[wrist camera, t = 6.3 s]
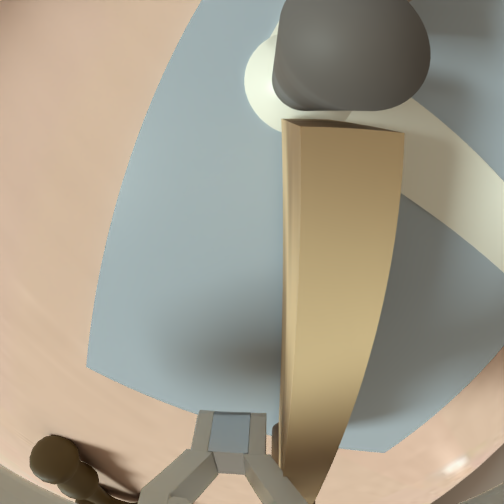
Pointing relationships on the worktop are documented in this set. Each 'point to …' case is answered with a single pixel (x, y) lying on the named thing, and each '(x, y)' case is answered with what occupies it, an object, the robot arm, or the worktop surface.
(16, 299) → the worktop surface
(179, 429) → the worktop surface
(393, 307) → the card
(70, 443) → the kendama
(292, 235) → the tan wooden bar
